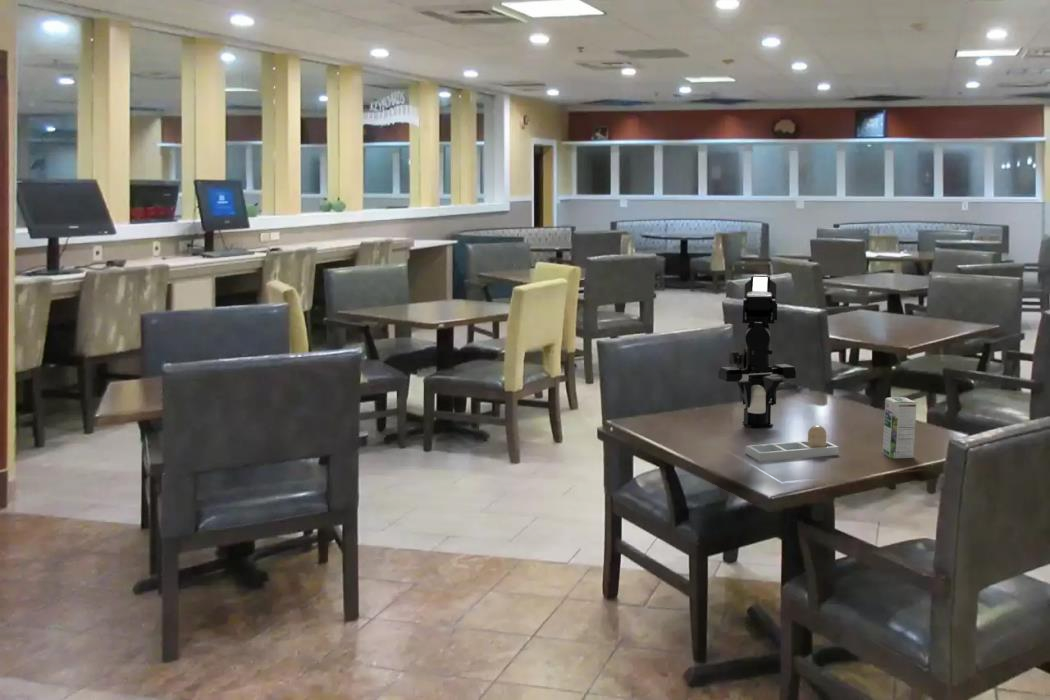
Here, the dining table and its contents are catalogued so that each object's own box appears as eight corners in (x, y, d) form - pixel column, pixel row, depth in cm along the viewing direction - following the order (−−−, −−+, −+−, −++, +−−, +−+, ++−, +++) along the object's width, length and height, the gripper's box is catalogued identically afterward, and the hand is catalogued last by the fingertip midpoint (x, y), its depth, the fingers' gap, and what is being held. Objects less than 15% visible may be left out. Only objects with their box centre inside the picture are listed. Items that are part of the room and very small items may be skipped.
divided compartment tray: (822, 448, 264) (822, 439, 264) (838, 456, 257) (838, 446, 257) (745, 455, 260) (746, 445, 259) (759, 463, 252) (759, 453, 252)
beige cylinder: (820, 449, 262) (820, 422, 261) (829, 453, 258) (830, 426, 257) (804, 450, 261) (805, 424, 260) (813, 454, 257) (813, 428, 256)
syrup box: (881, 454, 259) (883, 397, 256) (904, 453, 259) (907, 396, 257) (891, 460, 253) (893, 402, 251) (914, 459, 254) (917, 401, 251)
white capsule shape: (760, 409, 262) (761, 383, 261) (768, 413, 258) (769, 386, 257) (744, 410, 261) (745, 383, 260) (752, 414, 257) (752, 386, 256)
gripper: (777, 339, 267) (776, 398, 269) (709, 342, 262) (708, 402, 265) (798, 345, 256) (796, 407, 258) (728, 348, 252) (727, 411, 254)
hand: (756, 406), depth 259 cm, fingers closed on white capsule shape, 4 cm apart
